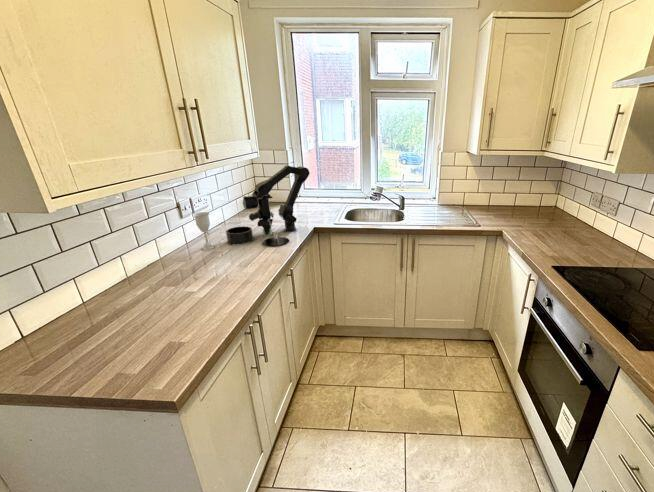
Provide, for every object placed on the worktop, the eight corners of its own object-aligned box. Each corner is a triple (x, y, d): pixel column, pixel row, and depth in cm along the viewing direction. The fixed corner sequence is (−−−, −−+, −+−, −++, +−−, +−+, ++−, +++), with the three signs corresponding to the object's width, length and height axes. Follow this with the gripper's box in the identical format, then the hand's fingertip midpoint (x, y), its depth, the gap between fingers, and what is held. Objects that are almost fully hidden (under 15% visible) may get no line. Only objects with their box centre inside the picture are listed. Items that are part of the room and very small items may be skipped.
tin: (231, 237, 175) (229, 226, 173) (255, 236, 178) (253, 225, 175) (225, 246, 164) (223, 234, 161) (251, 244, 166) (249, 233, 164)
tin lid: (264, 239, 174) (263, 229, 171) (290, 238, 176) (289, 227, 174) (260, 248, 161) (259, 237, 159) (288, 247, 164) (286, 236, 162)
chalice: (209, 251, 157) (201, 216, 150) (197, 250, 158) (189, 215, 151) (219, 246, 164) (212, 212, 157) (207, 244, 165) (200, 211, 158)
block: (264, 234, 182) (264, 227, 180) (272, 233, 183) (271, 227, 181) (263, 236, 178) (262, 229, 177) (271, 236, 179) (270, 229, 177)
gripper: (252, 203, 181) (255, 229, 187) (245, 211, 164) (249, 239, 170) (272, 202, 183) (275, 228, 189) (267, 211, 166) (271, 238, 172)
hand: (267, 233), depth 180 cm, fingers closed on block, 4 cm apart
